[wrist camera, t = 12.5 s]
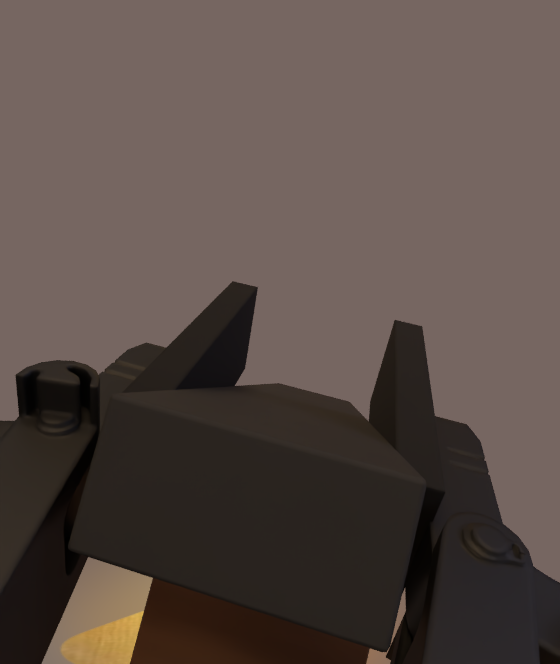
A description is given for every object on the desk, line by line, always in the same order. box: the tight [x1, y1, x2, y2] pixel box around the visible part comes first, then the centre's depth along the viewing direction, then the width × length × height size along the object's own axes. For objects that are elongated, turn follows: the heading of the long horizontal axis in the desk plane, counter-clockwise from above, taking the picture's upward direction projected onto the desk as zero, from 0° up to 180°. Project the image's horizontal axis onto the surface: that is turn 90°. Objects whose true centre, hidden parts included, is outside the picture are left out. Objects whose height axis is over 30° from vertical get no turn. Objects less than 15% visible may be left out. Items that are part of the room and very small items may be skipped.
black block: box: [68, 383, 427, 652], centre depth 16 cm, size 20×4×2 cm, turn 174°
